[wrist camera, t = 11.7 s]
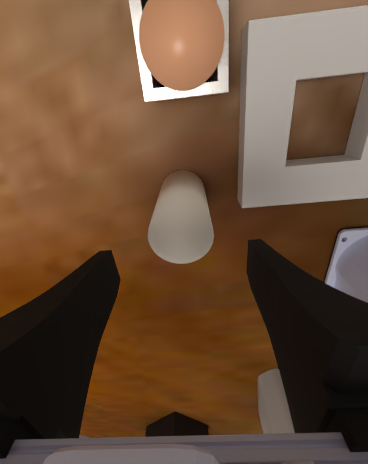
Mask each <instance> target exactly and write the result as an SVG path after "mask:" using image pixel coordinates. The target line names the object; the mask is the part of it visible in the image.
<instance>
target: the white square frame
mask: <svg viewBox="0 0 368 464" xmlns="http://www.w3.org/2000/svg"><path fill="white" fill-rule="evenodd" d="M363 73H365V75H364V79H363V83H362V87H361V91H360V95H359V99H358V103H357V107H356V111H355V115H354V119H353V123H352V127H351V130H350V134H349V138H348V142H347V146H346V150H345V154H344V155H335V156H324V157H314V158H303V159H293V160H286V157H287V149H288V141H289V133H290V125H291V118H292V110H293V102H294V94H295V86H296V81H301V80H310V79H318V78H327V77H336V76H345V75H354V74H363ZM359 198H368V5H365V6H357V7H349V8H342V9H334V10H326V11H319V12H311V13H303V14H295V15H288V16H280V17H272V18H265V19H257V20H249V21H248V22H247V24H246V25H245V26H244V28H243V29H242V32H241V72H240V113H239V154H238V195H237V200H238V202H239V203H240V205H241V207H242V208H251V207H263V206H275V205H287V204H299V203H311V202H323V201H335V200H347V199H359Z"/></svg>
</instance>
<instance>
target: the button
mask: <svg viewBox="0 0 368 464" xmlns="http://www.w3.org/2000/svg"><path fill="white" fill-rule="evenodd" d="M224 39H225V31H224V22H223V18H222V14H221V11H220V9H219V6H218V4H217V2H216V0H148V1H147V3H146V5H145V7H144V9H143V12H142V15H141V20H140V25H139V44H140V50H141V54H142V57H143V60H144V62H145V64H146V66H147V68H148V70H149V71H150V73H151V74H152V75H153V77H154V78H155V79H156V80H157V81H159V82H160V83H161V84H162V85H164V86H166V87H167V88H170V89H172V90H176V91H188V90H192V89H195V88H197V87H199V86H200V85H202V84H203V83H204V82H205V81H207V80H208V79H209V77H210V76H211V75H212V74H213V72H214V71H215V69H216V68H217V66H218V64H219V61H220V59H221V56H222V52H223V48H224Z"/></svg>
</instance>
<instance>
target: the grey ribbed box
mask: <svg viewBox="0 0 368 464" xmlns="http://www.w3.org/2000/svg"><path fill="white" fill-rule="evenodd" d="M258 412H259V416H260V420H261V425H262V429H263V433H264V434H286V433H295V432H294V428H293V424H292V419H291V415H290V411H289V407H288V403H287V399H286V395H285V391H284V387H283V383H282V379H281V375H280V371H279V369H271V370H268V371H266V372H264V373H262V374H261V375H259V376H258Z"/></svg>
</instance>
